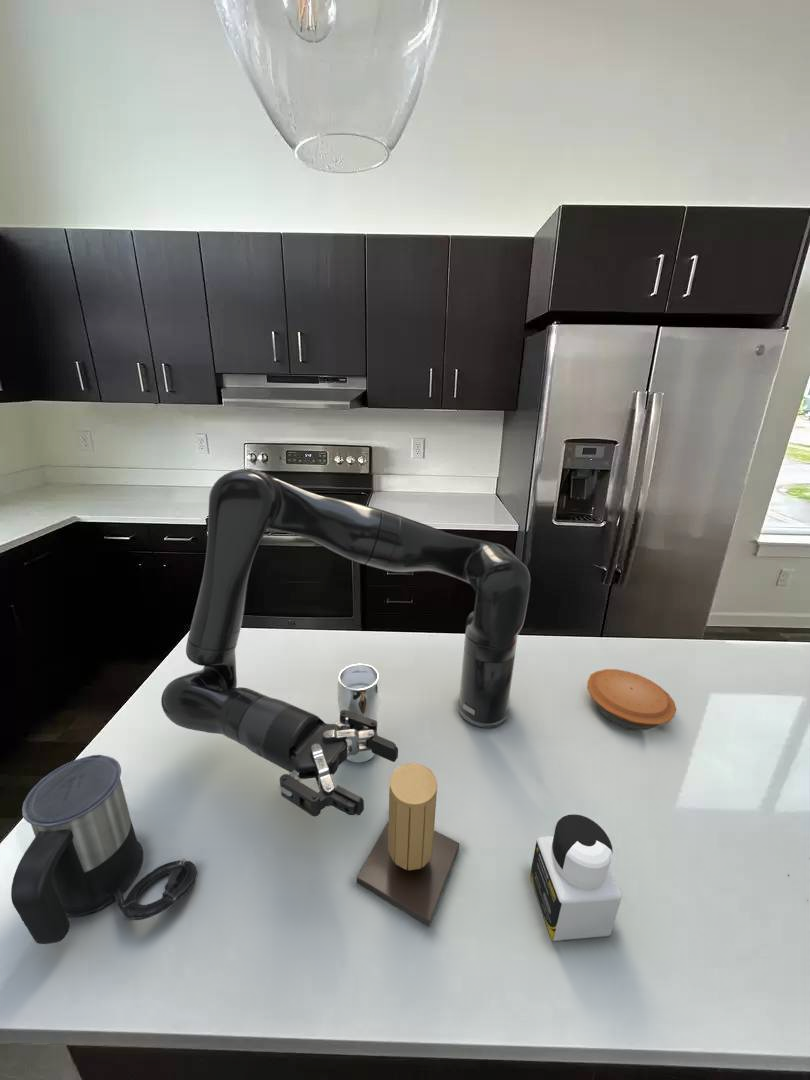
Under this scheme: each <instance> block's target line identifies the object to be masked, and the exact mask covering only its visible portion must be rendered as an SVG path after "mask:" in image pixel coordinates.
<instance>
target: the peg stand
mask: <svg viewBox="0 0 810 1080" xmlns="http://www.w3.org/2000/svg"><path fill="white" fill-rule="evenodd" d="M388 824H389V820H388V821H387V823H386V824H385V826H384V828H383V830H382V831H381V833H380V835H379V836H378V838H377V840H376V842H375V844H374V845H373V847H372V849H371V851H370V853H369V854H368V856H367V858H366V860H365V862H364V863H363V865H362V866H361V869H360V870H359V872H358V874H357V875H356V884H357V885H359V886H360V887H362V888H364V889H365V890H367V891H368V892H370V893H372V894H374V895H375V896H377V897H379V898H380V899H382V900H384V901H385V902H387V903H389V904H390V905H392V906H394V907H395V908H397V909H398V910H400V911H402V912H403V913H405V914H407V915H409V916H410V917H412V918H413V919H415V920H416V921H418V922H420V923H422V924H423V925H425V926H426V927H428V928H430V927H431V924H432V922H433V919H434V917H435V914H436V911H437V910H438V907H439V903H440V900H441V898H442V896H443V894H444V890H445V888H446V885H447V883H448V880H449V877H450V874H451V872H452V869H453V867H454V865H455V861H456V859H457V856H458V854H459V851H460V843H459V842H458V841H456V840H454V839H452V838H450V837H448V836H446V835H444V834H442V833H440V832H439V831H436V830H434V839H433V851H432V857H431V859H430V860H429V861H428V862H427V863H426V865H425V866H424V867H423V868H422V867H421V869H415V870H408V868H407V870H405V869H403V868H402V867H400V866H398V865H396V864H395V862H393V860H392V858H391V855H390V853H389V851H388Z"/></svg>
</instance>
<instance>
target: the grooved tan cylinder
mask: <svg viewBox="0 0 810 1080" xmlns="http://www.w3.org/2000/svg"><path fill="white" fill-rule="evenodd" d="M389 779H390V780H389V787H388V821H389V824H388V851H389V853H390V855H391V858H392V860H393V862H395V864H396V865H398V866H400V867H402V868H403V869H405V870H407V868H408V870H415V869H421V867H422V868H423V867H424V866H425V865H426V863H427V862H428V861H429V860H430V859H431V857H432V851H433V839H434V831H435V824H436V808H437V795H438V780H437V777H436V775H435V774H434V772H433V771H432V770H431V769H430V768H429V767H427V766H426V765H424V764H422V763H417V762H408V763H404V764H401V765H400V766H398V767H397V768H396V769H395V770H394V771H393V772H392V774H391V776H390V778H389Z"/></svg>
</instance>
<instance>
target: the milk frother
mask: <svg viewBox="0 0 810 1080" xmlns="http://www.w3.org/2000/svg"><path fill="white" fill-rule="evenodd" d="M121 775H122V767H121V764H120V763H119V761H118V760H117V759H115V758H114V757H111V756H109V755H103V754H92V755H88V756H85V757H84V756H83V757H80V758H78V759H74V760H71V761H68V762H67V763H65V764H63V765H61V766H60V767H59V766H58V767H57V768H55V769H54V770H53V771H51V772H49V773H48V774H46V775H45V776H44V777H43V778H41V779H40V780H39V781H38V782H37V783H36V784H35V785H34V786H33V787H32V788H31V789H30V791H29V792H28V794H27V795H26V797H25V799H24V801H23V803H22V807H21V812H22V813H21V814H22V817H23V819H24V820H25V821H26V823H29V824H30V825H31V828H32V832H33V834H34V839H33V840H32V841H31V843H30V845H28V847H27V849H26V850H25V852H24V854H23V855H22V857H21V859H19V862H18V864H17V867H16V870H15V872H14V874H13V875H14V876H13V878H12V883H11V888H10V890H11V891H10V897H11V903H12V905H13V907H14V909H15V911H16V912H17V914H18V916H19V917H20V919H21V921H22V922H23V924H24V926H25V927H26V929H27V931H28V932H29V934H30V935H31V937H32V939H33V940H34V942H35V943H36V944H38V945H49V944H56V943H59V942H62V941H63V940H64V939H65V938H66V937H67V935H68V933H69V931H70V928H71V922H70V920H69V918H68V916H86V915H88V914H91V913H94V912H97V911H99V910H102V909H104V908H105V907H107V906H108V905H110V904H111V903H112V902H114V901H115V900H116V903H117V906H118V908H119V910H120V912H121V913H122V915H123V916H124V918H126V920H127V919H128V920H130V921H142V920H145V919H148V918H149V919H150V918H151V917H154V916H156V915H158V914H160V913H162V912H164V911H166V910H167V909H169V908H170V907H172V906H173V905H174V904H176V903H177V902H179V901H180V900H181V899H182V898H183V897H184V896H185V895H186V894H187V893H188V892H189V891H190V889H192V888H193V886H194V884H195V882H196V879H197V876H198V870H197V866H196V864H195V863H193V862H192V861H190V860H186V859H185V857H184V858H183V857H182V858H181V859H179V860H174V861H169V862H167V863H164V864H162V865H159V866H158V867H156V868H154V869H153V870H152V871H150V872H149V873H147V874H146V875H145V876H143V877H141V879H140V880H139V881H138V882H137V883H136V884H134V886H133V887H132V888H131V889H130V891H129V892H128V894H127V896H126V897H125V899H124V896H123V893H124V892H125V891H126V890H127V889H128V888H129V887H130V886H131V884H132V883H133V882H134V881H135V878H137V875H138V874H139V872H140V870H141V867H142V864H143V861H144V850H143V846H142V843H141V842H140V841H138V838H137V835H136V832H135V829H134V825H133V821H132V818H131V814H130V810H129V807H128V801H127V798H126V795H125V791H124V787H123V783H122V780H121ZM167 874H169V875H168V878H167V882H166V883H165V886H164V891H163V892H162V897H161V898H159V899H157V900H155V901H153V902H150V903H147V904H141V903H139V902H137V900H138V897H140V895H141V893H142V892H143V891H144V890H145V889H147V887H148V886H149V885H151V883H153V882H154V881H156V880H157V879H159V878H161V877H162V876H164V875H167Z"/></svg>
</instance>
